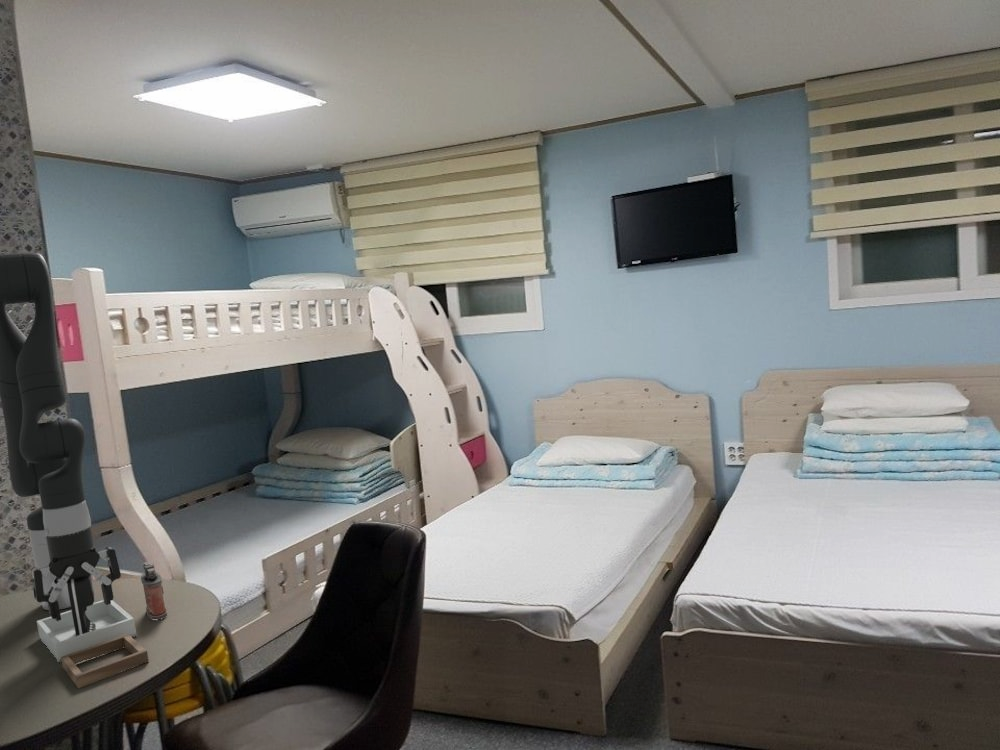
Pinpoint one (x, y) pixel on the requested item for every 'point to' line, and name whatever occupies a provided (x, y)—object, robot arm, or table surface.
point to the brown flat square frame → (107, 669)
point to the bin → (108, 627)
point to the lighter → (153, 592)
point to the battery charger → (81, 603)
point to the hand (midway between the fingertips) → (83, 611)
